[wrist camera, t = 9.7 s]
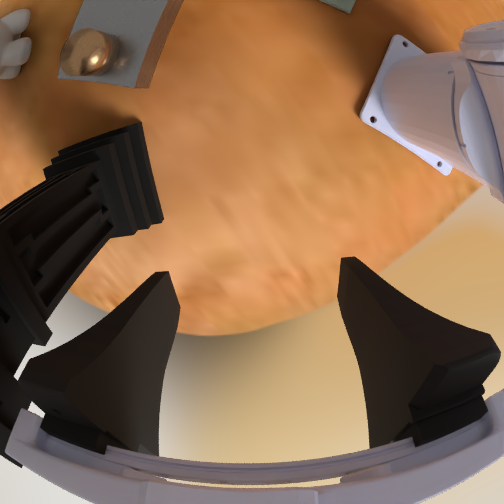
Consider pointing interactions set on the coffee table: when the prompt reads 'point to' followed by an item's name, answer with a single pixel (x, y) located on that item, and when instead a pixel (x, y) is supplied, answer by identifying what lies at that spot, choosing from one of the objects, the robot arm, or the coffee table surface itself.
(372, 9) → the coffee table surface
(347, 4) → the rubber mat
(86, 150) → the chess piece
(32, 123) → the coffee table surface
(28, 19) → the chubby cartoon animal
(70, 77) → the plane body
